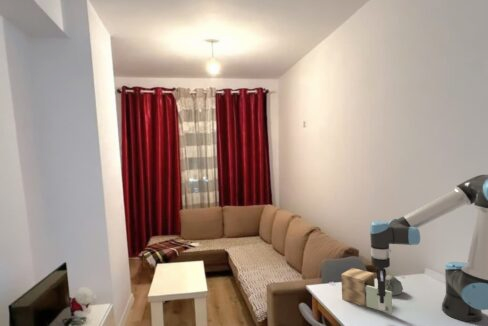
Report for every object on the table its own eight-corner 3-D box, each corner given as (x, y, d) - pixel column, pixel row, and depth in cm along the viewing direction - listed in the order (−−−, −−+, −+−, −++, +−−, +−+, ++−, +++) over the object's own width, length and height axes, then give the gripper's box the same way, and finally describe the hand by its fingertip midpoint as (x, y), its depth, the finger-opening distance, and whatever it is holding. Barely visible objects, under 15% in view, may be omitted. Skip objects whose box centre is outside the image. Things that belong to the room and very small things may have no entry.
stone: (396, 277, 158) (390, 270, 168) (380, 289, 160) (376, 281, 170) (409, 292, 157) (402, 283, 167) (393, 303, 159) (388, 294, 169)
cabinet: (375, 298, 158) (374, 273, 158) (364, 306, 150) (363, 280, 150) (353, 291, 167) (352, 267, 166) (342, 299, 158) (341, 274, 158)
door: (390, 315, 139) (389, 293, 139) (363, 306, 148) (363, 286, 148) (392, 313, 141) (391, 291, 141) (365, 304, 150) (365, 284, 149)
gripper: (391, 262, 129) (392, 317, 129) (388, 252, 141) (389, 303, 141) (371, 260, 131) (373, 315, 132) (370, 251, 144) (372, 301, 144)
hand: (381, 308), depth 137 cm, fingers closed
